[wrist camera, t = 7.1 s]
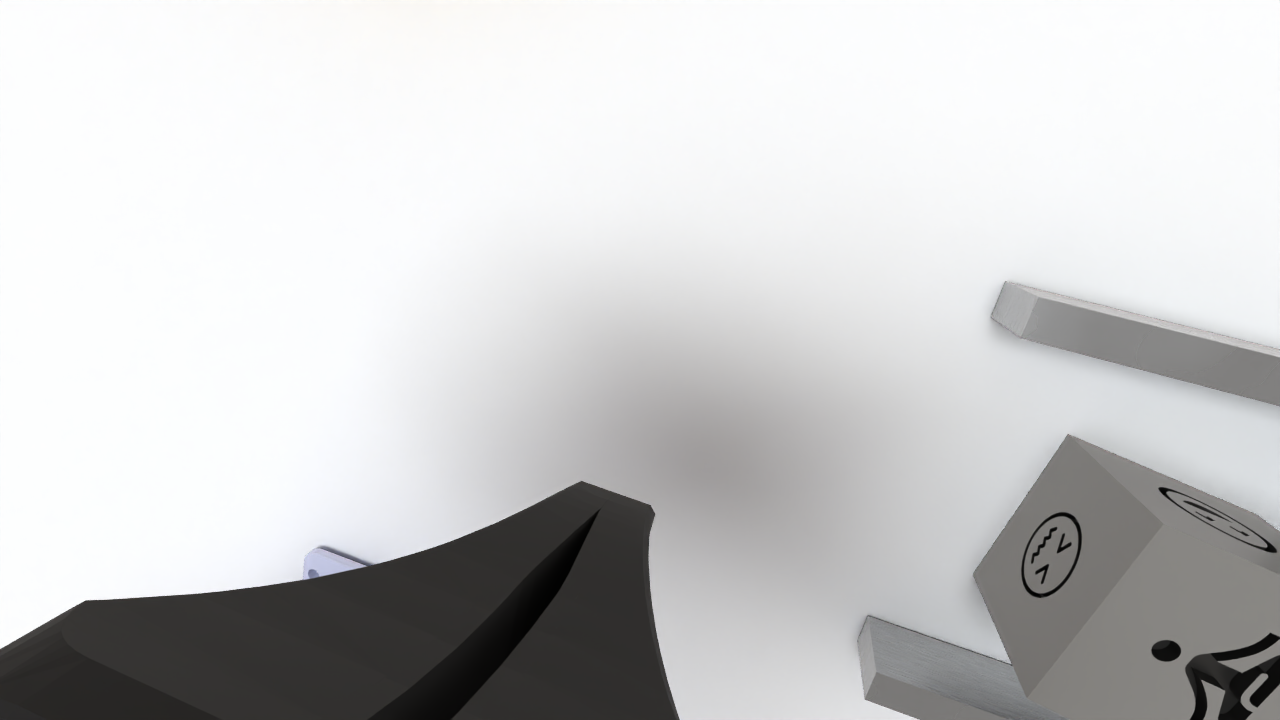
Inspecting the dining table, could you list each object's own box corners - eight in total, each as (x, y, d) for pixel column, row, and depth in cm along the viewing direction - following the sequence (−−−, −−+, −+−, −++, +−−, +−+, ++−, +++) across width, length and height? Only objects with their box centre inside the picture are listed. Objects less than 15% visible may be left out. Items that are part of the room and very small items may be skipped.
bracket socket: (1222, 769, 19) (1299, 876, 16) (857, 640, 20) (866, 715, 18) (1478, 399, 15) (1640, 450, 12) (1005, 281, 17) (1048, 301, 14)
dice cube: (1138, 649, 18) (1252, 807, 14) (972, 572, 19) (1026, 698, 14) (1253, 513, 17) (1426, 638, 12) (1067, 433, 17) (1163, 524, 13)
